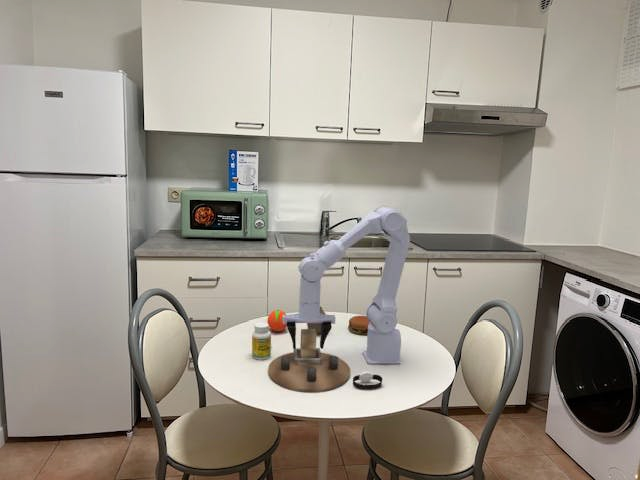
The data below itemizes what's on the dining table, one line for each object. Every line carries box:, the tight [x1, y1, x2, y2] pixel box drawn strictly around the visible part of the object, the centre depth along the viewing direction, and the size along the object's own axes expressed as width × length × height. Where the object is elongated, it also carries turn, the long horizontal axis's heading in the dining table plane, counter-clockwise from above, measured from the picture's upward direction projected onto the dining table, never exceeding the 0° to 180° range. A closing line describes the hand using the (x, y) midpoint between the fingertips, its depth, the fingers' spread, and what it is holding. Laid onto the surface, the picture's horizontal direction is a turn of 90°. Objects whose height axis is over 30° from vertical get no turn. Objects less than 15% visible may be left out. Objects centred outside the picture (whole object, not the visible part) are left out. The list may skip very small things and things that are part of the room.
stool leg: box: [299, 328, 317, 358], centre depth 131 cm, size 4×4×8 cm
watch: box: [352, 371, 383, 391], centre depth 119 cm, size 8×5×4 cm, turn 100°
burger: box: [347, 315, 370, 335], centre depth 157 cm, size 10×9×5 cm
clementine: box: [266, 309, 287, 332], centre depth 153 cm, size 8×7×7 cm
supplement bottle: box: [251, 321, 272, 361], centre depth 133 cm, size 5×5×10 cm
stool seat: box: [267, 347, 351, 393], centre depth 126 cm, size 22×22×4 cm
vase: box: [306, 305, 326, 336], centre depth 153 cm, size 7×7×9 cm
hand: (307, 347), depth 131 cm, fingers open, 7 cm apart
